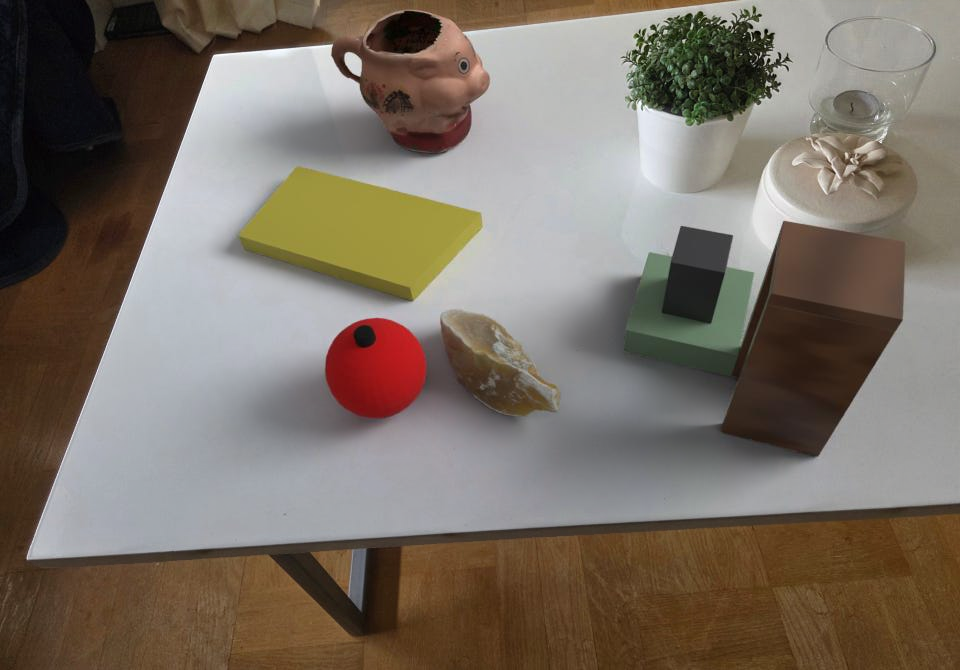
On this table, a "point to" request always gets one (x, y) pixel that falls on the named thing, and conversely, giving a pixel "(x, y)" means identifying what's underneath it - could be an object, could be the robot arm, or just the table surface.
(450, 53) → the face mug
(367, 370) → the ornament
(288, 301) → the table surface
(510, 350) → the stone
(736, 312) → the sage green square slab
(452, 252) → the flat olive board
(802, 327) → the tall brown wooden block
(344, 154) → the table surface
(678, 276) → the block
